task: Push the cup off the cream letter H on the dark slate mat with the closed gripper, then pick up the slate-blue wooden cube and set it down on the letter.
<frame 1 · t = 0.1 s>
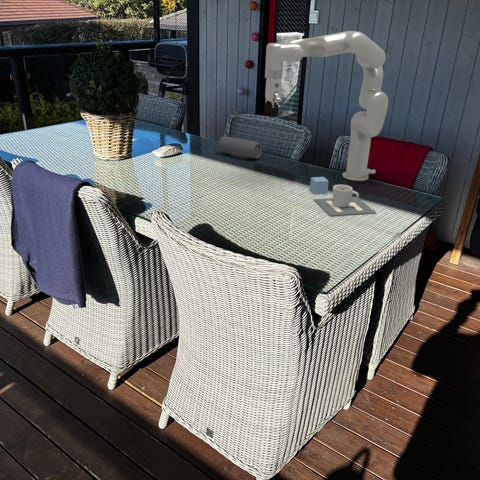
hand: (271, 114, 215), 31 cm above the table, tool pointing down, fingers open, 9 cm apart
letter mat: (344, 206, 202), on the table
cube: (318, 191, 217), on the table
cup: (344, 206, 202), resting on letter mat
bluetooth speaker: (239, 157, 264), on the table
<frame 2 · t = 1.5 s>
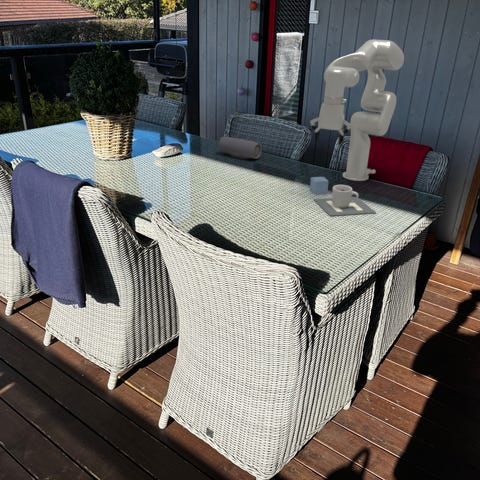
hand: (328, 142, 203), 23 cm above the table, tool pointing down, fingers open, 9 cm apart
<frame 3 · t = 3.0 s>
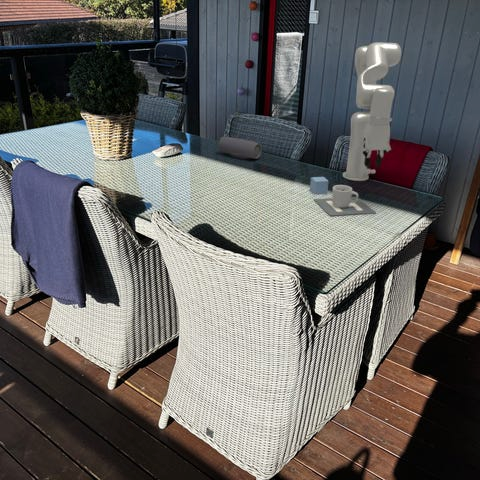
hand: (372, 165, 196), 17 cm above the table, tool pointing down, fingers open, 3 cm apart
nothing on the table moved.
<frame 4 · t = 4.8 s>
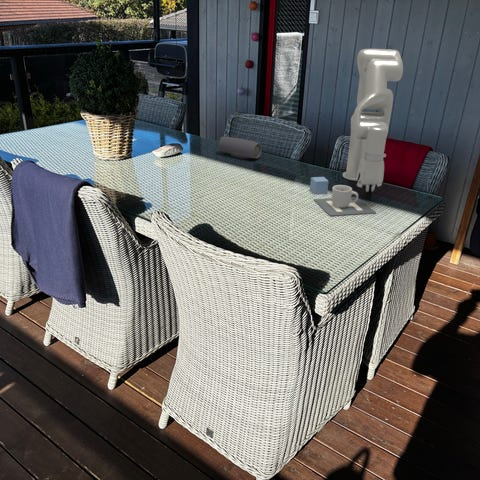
hand: (366, 199, 203), 3 cm above the table, tool pointing down, fingers closed
nothing on the table moved.
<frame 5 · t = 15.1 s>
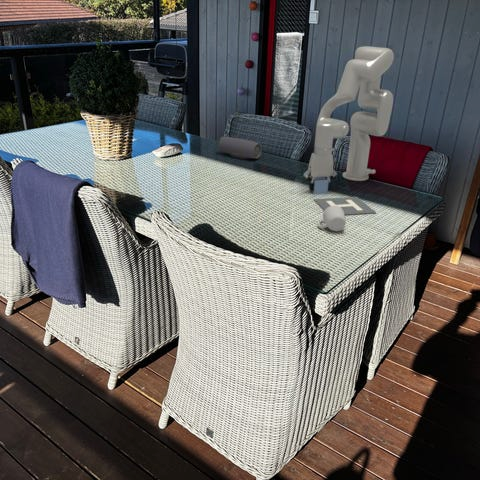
hand: (318, 189, 217), 1 cm above the table, tool pointing down, fingers closed on cube, 6 cm apart
cube: (318, 191, 217), on the table, touching gripper
cup: (333, 226, 176), point 3 cm above the table
everything else where it was.
when the fingers open (3 cm above the table, at t = 21.9 s): cube drops 1 cm, resting on letter mat.
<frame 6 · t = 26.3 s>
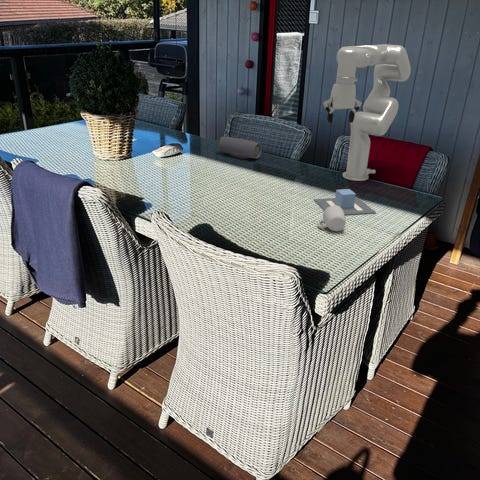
hand: (340, 122, 209), 30 cm above the table, tool pointing down, fingers open, 9 cm apart
cube: (344, 205, 201), point 1 cm above the table, touching letter mat
everything else where it was.
at the end: cube inside the target area on the letter mat (0.1 cm from its centre), point 0.6 cm above the letter mat's base; cube tilted 0°; cup touching table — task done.
